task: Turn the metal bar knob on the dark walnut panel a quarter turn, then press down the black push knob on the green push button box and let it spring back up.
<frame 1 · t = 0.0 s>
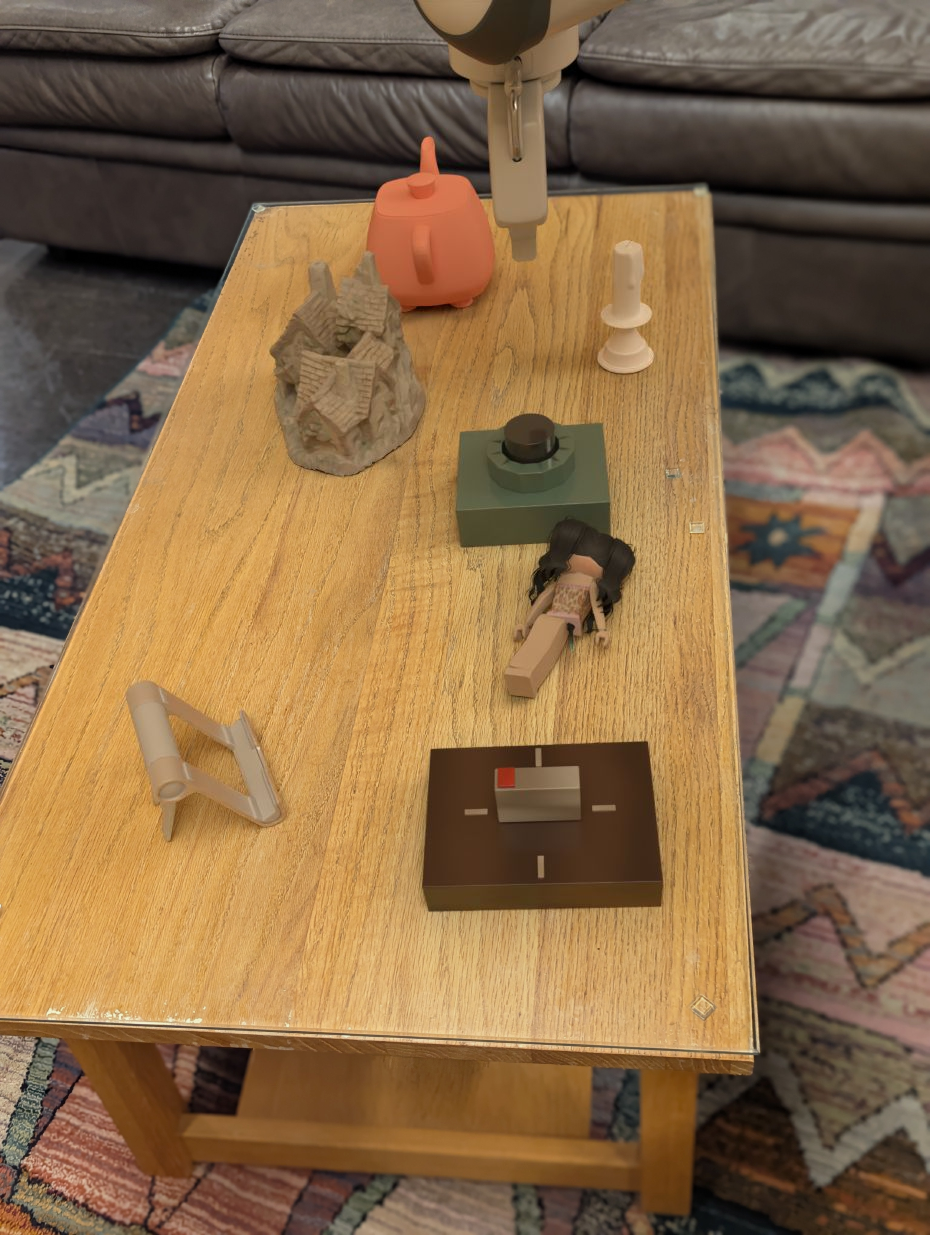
hand: (524, 225, 82), 19 cm above the table, tool pointing down, fingers open, 8 cm apart
ceramic cottage: (340, 416, 101), on the table
dial panel: (541, 836, 68), on the table
toy figure: (570, 628, 80), on the table
tablet stand: (215, 795, 73), on the table
green push button box: (534, 502, 90), on the table
candle: (625, 359, 103), on the table
dial: (538, 793, 65), point 5 cm above the table, hinge at 0.0°
teapot: (435, 286, 115), on the table
knob: (529, 438, 85), point 7 cm above the table, slide at 0.1 cm
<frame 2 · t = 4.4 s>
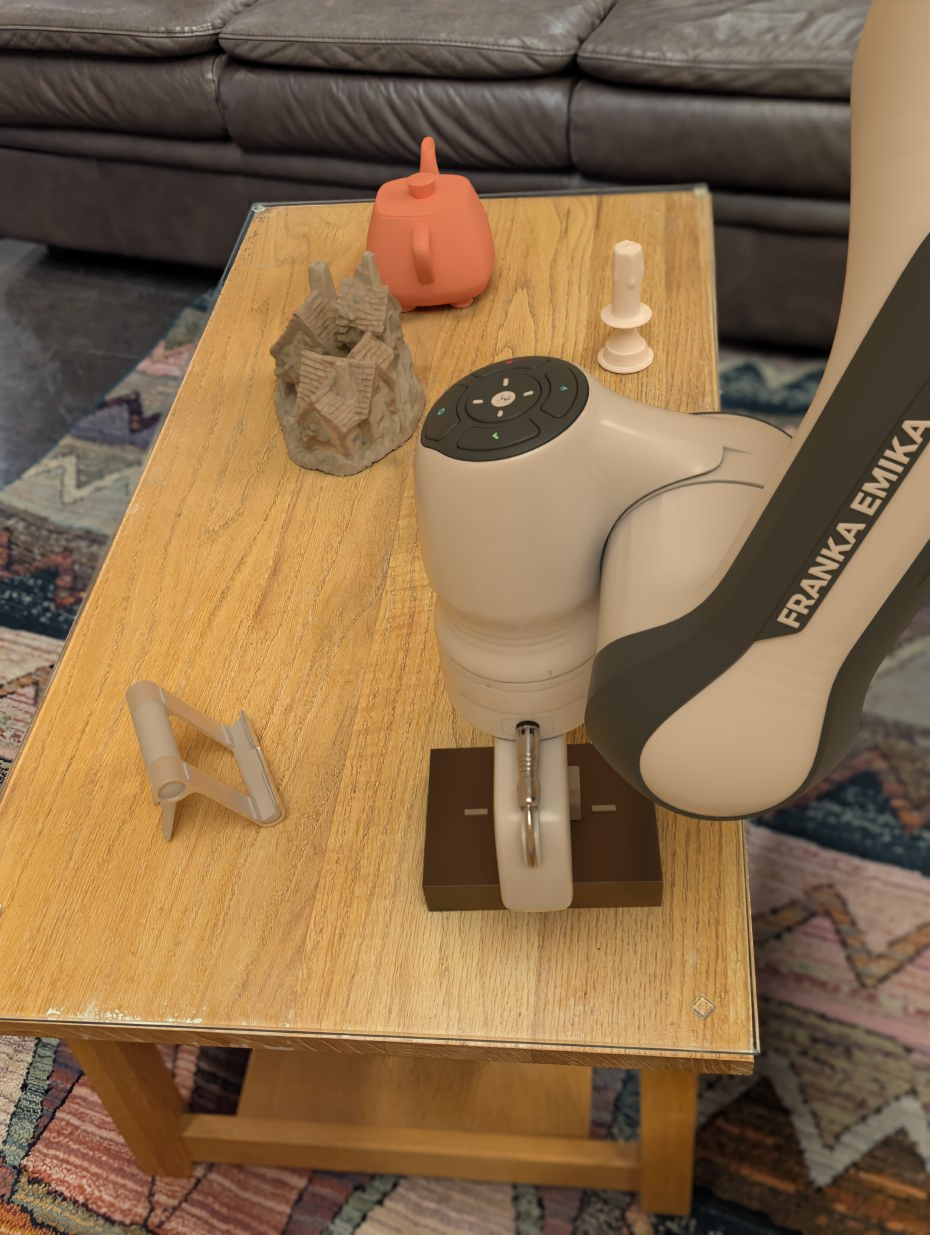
hand: (539, 802, 65), 4 cm above the table, tool pointing down, fingers closed on dial, 2 cm apart
dial: (538, 793, 65), point 5 cm above the table, hinge at -0.1°, touching gripper
everything else where it was.
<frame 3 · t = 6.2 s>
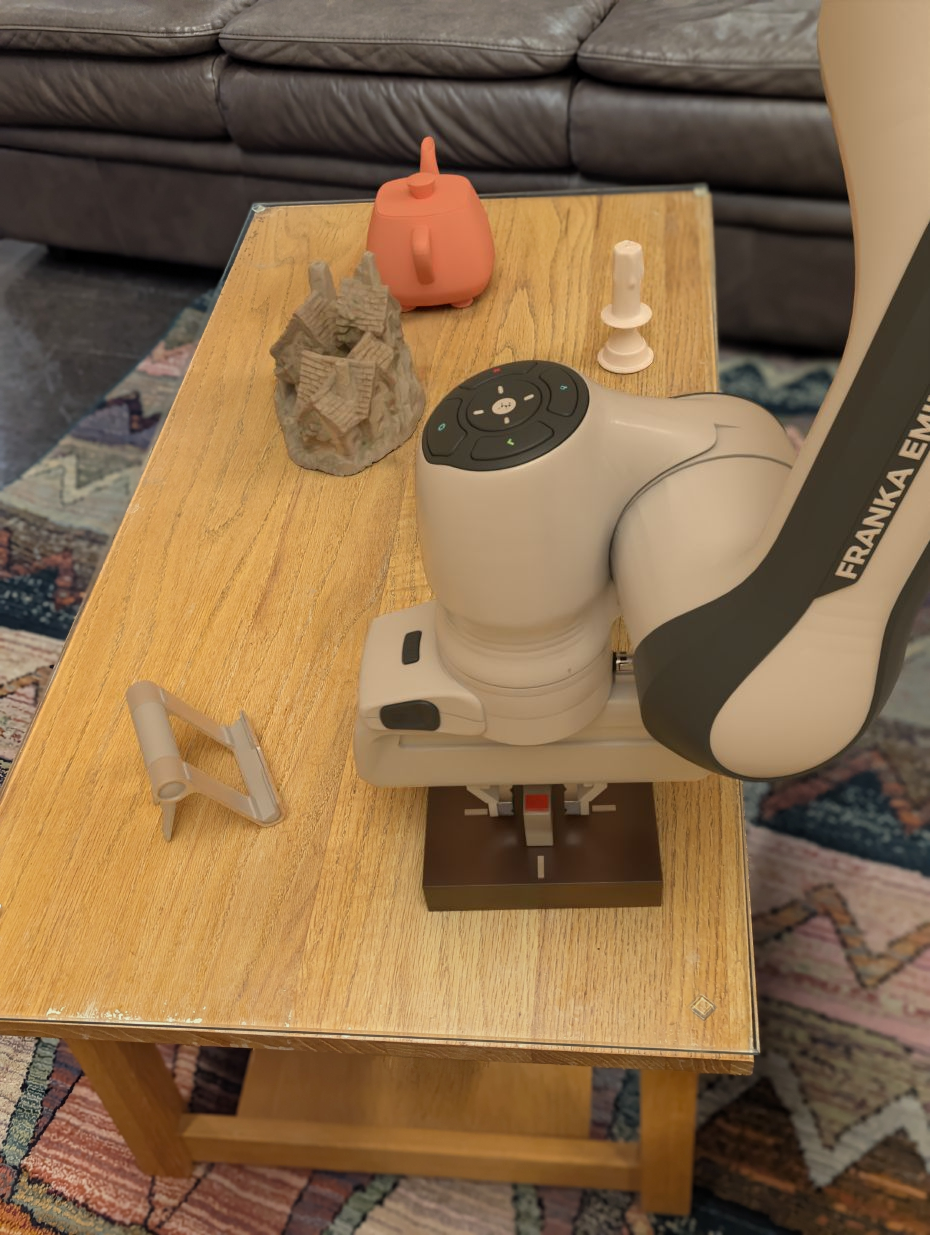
hand: (539, 806, 66), 4 cm above the table, tool pointing down, fingers open, 3 cm apart
dial: (538, 793, 65), point 5 cm above the table, hinge at 89.3°
everything else where it was.
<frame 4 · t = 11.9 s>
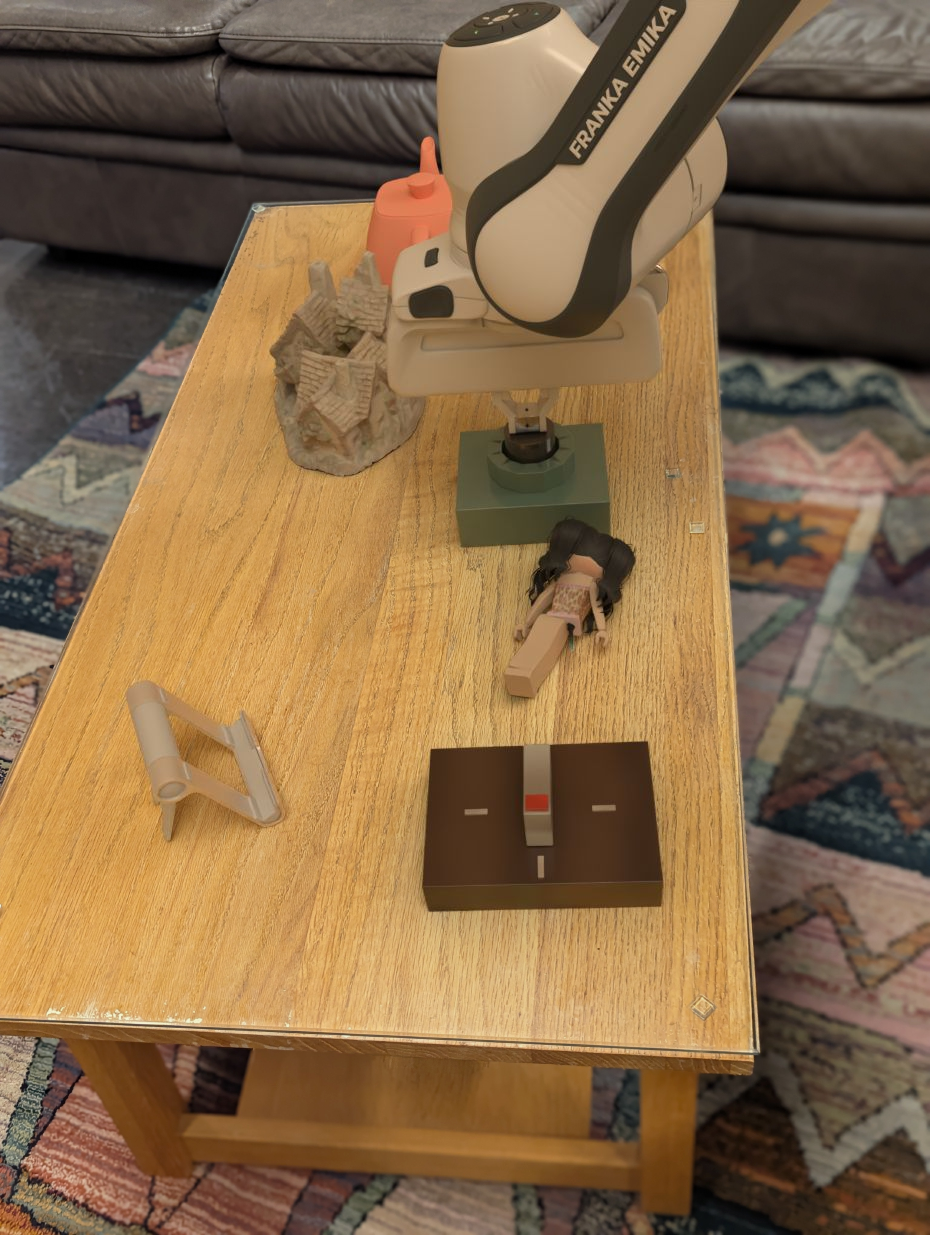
hand: (527, 428, 84), 8 cm above the table, tool pointing down, fingers closed, pressing on knob
knob: (529, 439, 85), point 7 cm above the table, slide at 0.1 cm, touching gripper
everything else where it was.
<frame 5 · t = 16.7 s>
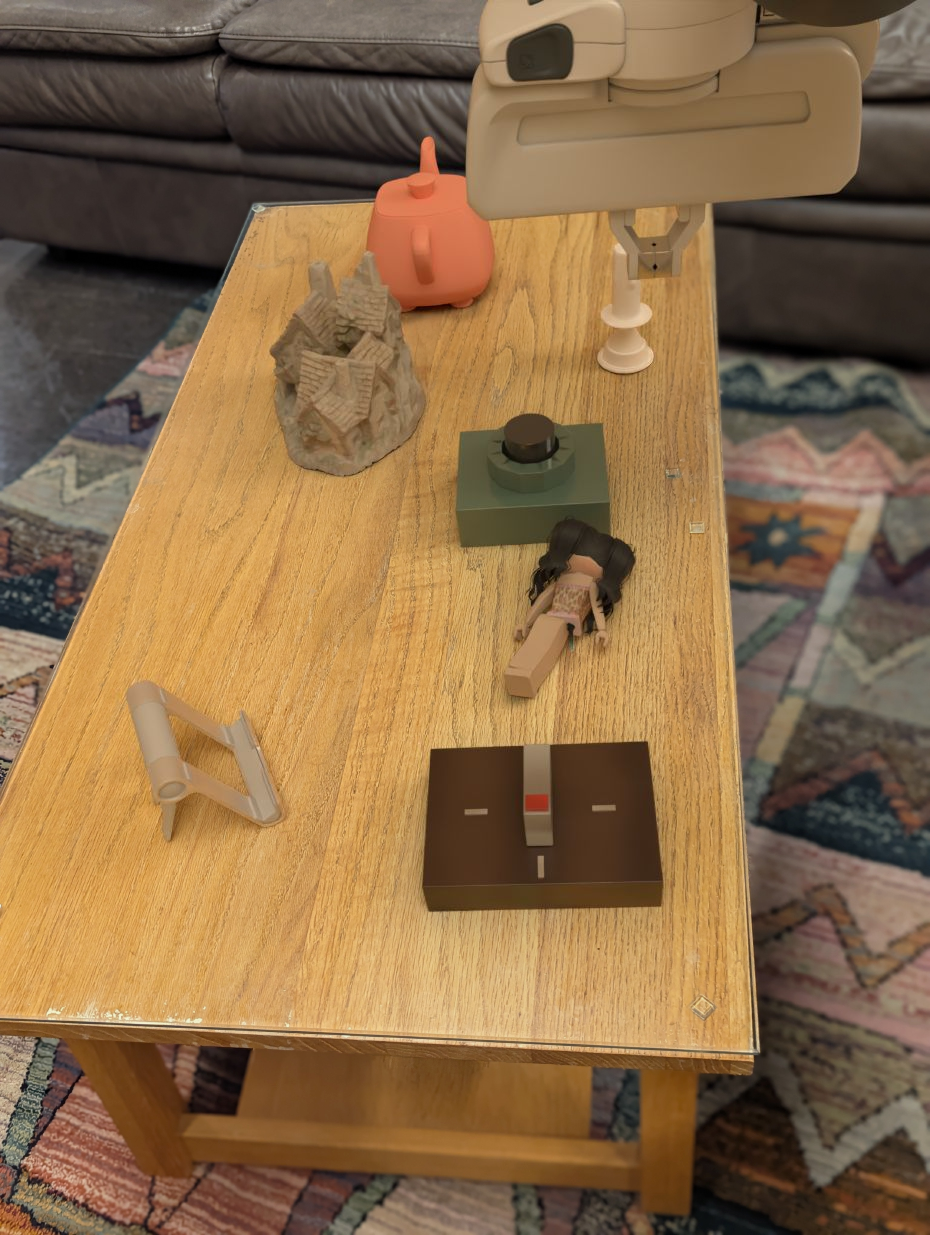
hand: (653, 273, 61), 27 cm above the table, tool pointing down, fingers closed
knob: (529, 438, 85), point 7 cm above the table, slide at 0.1 cm
everything else where it was.
at the end: dial at +89° (first picture: +0°); knob pushed in 1.2 cm at the most during the clip, back to where it started at the end; knob slide at 0.1 cm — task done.
